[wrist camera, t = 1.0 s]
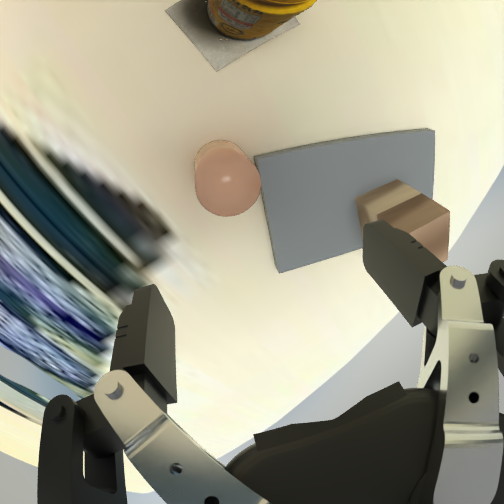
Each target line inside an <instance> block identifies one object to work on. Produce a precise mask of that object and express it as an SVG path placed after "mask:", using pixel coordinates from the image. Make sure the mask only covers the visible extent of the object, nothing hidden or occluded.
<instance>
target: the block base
mask: <svg viewBox="0 0 504 504" xmlns="http://www.w3.org/2000/svg"><path fill="white" fill-rule="evenodd" d="M419 194H421V193H420V192H419V191H417V190H415V189H414V188H412V187H410V186H409V185H407V184H405V183H403V182H402V181H400V180H398V179H397V180H394V181H392V182H390V183H387V184H385V185H383V186H380V187H378V188H376V189H374V190H371V191H369V192H367V193H365V194H362V195H360V196H358V197H355V201H356V206H357V211H358V216H359V221H360V227H361V232H362V238H363V227H364V225H365V224H367V223H370V222H374V221H377V214H379V213H381V212H383V211H385V210H388V209H390V208H392V207H394V206H396V205H398V204H400V203H402V202H404V201H406V200H408V199H411V198H413V197H415V196H417V195H419Z"/></svg>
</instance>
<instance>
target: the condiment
mask: <svg viewBox="0 0 504 504" xmlns="http://www.w3.org/2000/svg"><path fill="white" fill-rule="evenodd" d="M205 1H207V2H205ZM316 1H317V0H181V1H179V2H178V3H176V4H174V5H173V6H171V7H170V8H168V9H166V10H165V11H166V13H167V14H168V15H169V16H170V17H171V18H172V19H173V21H174V22H175V23H176V24H177V25H178V26H179V27H180V28H181V30H182V31H183V32H184V33H185V34H186V35H187V37H188V38H189V39H190V40H191V41H192V42H193V44H194V45H195V46H196V47H197V48H198V50H199V51H200V52H201V53H202V54H203V56H204V57H205V58H206V59H207V60H208V62H209V63H210V64H211V65H212V67H213V68H214V69H215V70H216V72H217V71H219V70H220V69H222V68H223V67H225V66H226V65H228V64H229V63H231V62H233V61H234V60H236V59H237V58H239V57H240V56H242V55H244V54H246V53H247V52H249V51H251V50H252V49H254V48H256V47H258V46H259V45H261V44H263V43H265V42H267V41H268V40H270V39H272V38H274V37H276V36H278V35H280V34H282V33H283V32H285V31H287V30H289V29H291V28H293V27H296V26H298V25H300V23H299V22H298V21H297V19H296V18H295V17H294V16H296V15H298V14H299V13H301V12H303V11H304V10H306V9H308V8H310V7H311V6H312V5H313V4H314V3H315V2H316ZM220 39H223V40H220ZM225 39H228V40H225Z"/></svg>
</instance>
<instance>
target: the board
mask: <svg viewBox="0 0 504 504" xmlns="http://www.w3.org/2000/svg"><path fill="white" fill-rule="evenodd" d="M254 159H255V164H256V168H257V170H258V172H259V174H260V178H261V193H262V198H263V203H264V208H265V213H266V218H267V223H268V228H269V233H270V238H271V243H272V248H273V254H274V259H275V264H276V268H277V270H278V272H279V273H283V272H286V271H289V270H293V269H296V268H299V267H303V266H306V265H309V264H313V263H316V262H319V261H322V260H326V259H329V258H332V257H335V256H339V255H342V254H345V253H348V252H351V251H354V250H358V249H361V248H363V238H362V232H361V227H360V221H359V216H358V211H357V206H356V201H355V197H358V196H360V195H362V194H365V193H367V192H369V191H371V190H374V189H376V188H378V187H380V186H383V185H385V184H387V183H390V182H392V181H394V180H397V179H398V180H400V181H402V182H403V183H405V184H407V185H409V186H410V187H412V188H414V189H415V190H417V191H419V192H420V193H422V194H424V195H425V196H427V197H429V198H430V199H432V197H433V184H434V163H435V131H434V130H431V129H428V128H427V129H415V130H405V131H395V132H387V133H379V134H371V135H364V136H357V137H350V138H344V139H338V140H332V141H326V142H320V143H315V144H310V145H304V146H299V147H294V148H290V149H285V150H280V151H276V152H271V153H267V154H262V155H258V156H254Z"/></svg>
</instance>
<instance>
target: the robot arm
mask: <svg viewBox="0 0 504 504" xmlns="http://www.w3.org/2000/svg"><path fill="white" fill-rule="evenodd" d="M363 263H364V266H365V269H366V270H367V272H368V273H369V274H370V276H371V277H372V278H373V279H374V280H375V282H376V283H377V284H378V285H379V286H380V288H381V289H382V290H383V291H384V293H385V294H386V295H387V296H388V297H389V299H390V300H391V301H392V302H393V304H394V305H395V306H396V307H397V309H398V310H399V311H400V312H401V314H402V315H403V316H404V318H405V319H406V320H407V321H408V323H409V324H410V325H411V326H412V327H414V326H416V325H418V324H420V323H422V322H423V323H424V325H425V328H424V333H423V348H422V361H421V371H420V376H419V380H418V383H417V386H416V388H408V389H403V387H402V386H401V384H400V383H399V382H396V383H394V384H392V385H390V386H388V387H386V388H384V389H382V390H380V391H378V392H375V393H373V394H371V395H369V396H367V397H365V398H364V399H363V400H362V401H360V402H359V403H357V404H356V405H354V406H353V407H352V408H350V409H349V410H347V411H346V412H345V413H343V414H342V415H340V416H339V417H337V418H335V419H333V420H328V421H320V422H310V423H299V424H290V425H287V426H284V427H281V428H277V429H273V430H269V431H265V432H262V433H258V434H253V435H254V439H255V444H253V445H251V446H249V447H247V448H246V449H244V450H243V451H241V452H240V453H239V454H238V455H236V456H235V457H234V458H233V459H232V460H231V461H230V462H229V463H228V465H227V466H225V465H223V464H222V463H221V462H220V461H218V460H217V459H216V458H215V457H214V456H212V455H211V454H210V453H209V452H207V451H206V450H205V449H204V448H203V447H202V446H200V445H199V444H198V443H197V442H196V441H195V440H194V439H193V438H192V437H191V436H189V435H188V434H187V433H186V432H185V431H184V430H183V429H182V428H181V427H180V426H179V425H178V424H177V423H176V422H175V421H174V420H173V419H172V418H171V417H170V416H169V415H168V414H167V404H171V403H177V388H176V360H175V325H174V321H173V318H172V315H171V313H170V311H169V309H168V307H167V305H166V303H165V302H164V300H163V298H162V296H161V294H160V292H159V290H158V288H157V286H156V285H155V284H152V285H148V286H145V287H141V288H138V289H135V291H134V295H133V300H132V304H131V305H127V306H126V307H125V309H124V310H123V312H122V313H121V315H120V317H119V321H118V326H117V328H118V330H117V332H116V339H115V342H114V348H113V354H112V360H111V366H110V372H108V373H106V374H105V375H103V376H102V377H101V378H100V380H99V381H98V382H97V384H96V386H95V389H94V394H92V395H90V396H87V397H85V398H83V399H81V400H79V401H77V402H75V401H73V400H72V399H71V398H70V397H69V396H67V395H58V396H56V397H54V398H53V399H52V400H51V401H50V402H49V403H48V405H47V406H46V408H45V411H44V417H43V424H42V431H41V440H40V450H39V463H38V491H37V494H38V495H37V497H38V504H127V496H126V486H125V475H124V462H123V449H124V452H125V454H126V456H127V457H128V459H129V460H130V461H131V463H132V464H133V465H134V467H135V468H136V469H137V470H138V472H139V473H140V474H141V475H142V476H143V478H144V479H145V480H146V481H147V482H148V483H149V485H150V486H151V487H152V488H153V489H154V490H155V491H156V492H157V493H158V495H159V496H160V497H161V498H162V499H163V500H164V501H165V502H166V503H167V504H504V414H502V413H499V377H498V369H499V370H500V372H501V373H502V375H503V376H504V318H503V317H504V260H495V261H493V262H492V263H491V264H490V267H489V270H488V273H486V274H479V275H473V274H472V273H471V272H470V271H469V270H467V269H465V268H463V267H460V266H448V267H447V266H446V265H444V264H443V262H441V261H440V260H439V259H438V258H437V257H436V256H435V255H434V254H432V253H431V252H430V251H429V250H428V249H427V248H425V247H423V245H422V244H421V243H420V242H418V241H417V240H416V239H415V238H414V237H412V236H411V235H410V234H409V233H407V232H405V231H402V230H400V229H398V228H393V227H392V226H391V225H390V224H389V223H387V222H386V221H385V220H383V219H381V220H377V221H374V222H370V223H367V224H365V225H364V227H363ZM83 451H84V452H85V479H84V476H83Z"/></svg>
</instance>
